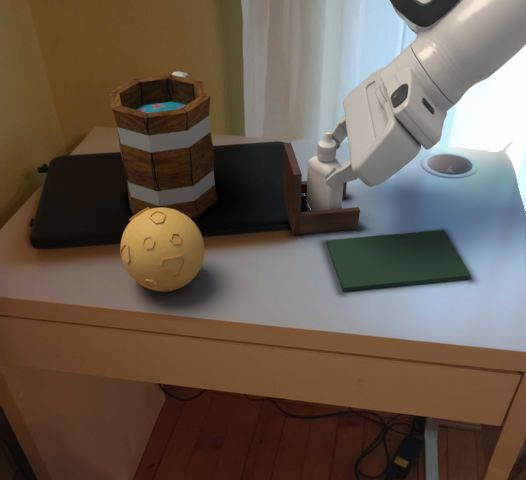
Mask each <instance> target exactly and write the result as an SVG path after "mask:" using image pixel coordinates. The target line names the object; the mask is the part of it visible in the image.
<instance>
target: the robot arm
mask: <svg viewBox="0 0 526 480" xmlns="http://www.w3.org/2000/svg"><path fill="white" fill-rule="evenodd" d="M389 2H390V4H391V6H392V7H393V10H394V12H395V13H396V14H397V16H398V17H399V18H400V19H401V20H402V21H403V22H404V23H405V24H406V26H407V27H408V28H409V29H410V30H411V31H412V33H414V34H415V35H416V37H415V39H414V40H413V41H411V43H410V44H409V45H408V46H407V47H405V48H404V49H403V50H402V51H401V52H400V53H399V54H397V56H395V58H393V59H392V60H391V61H390V62H389V63H388V64H387V65H386V66H384V67H381V68H379V69H376V70H375V71H374V72H372V73H371V74H370V75H369V76H368V77H366V78H365V79H364V80H362V81H361V82H360V83H359V84H357V86H355V87H354V88H352V89H351V90H350V92H348V94H347V95H346V96H345V98H344V99H343V101H342V106H343V112H344V113H343V114H344V115H343V116H342V117H341V118H340V119H339V120H338V122H337V123H336V125H335V126H334V127H333V129H332V130H331V132H330V134H331V140H334V141H335V142H336V151H337V150H338V149H339V148H341V144H342V142H344V140H345V139H347V144H348V150H349V158H348V160H346V161H345V162H344V165H343V166H341V168H339V169H336V168H334V169H333V170H331V171H330V173H328V174H327V175H326V184H327V185H328V186H329V187H330V188H331V189H333V190H336V189H337V188H339V187H340V186H341V185H342V184H343V183H346V182H347V183H348V182H352V181H354V180H357V179H359V180H360V181H361V182H362V183H363V184H364V185H366V186H367V187H369V188H371V187H376V186H379V185H381V184H382V183H384V182H385V181H387V180H389V179H390V178H392V177H393V176H395V174H396V173H398V172H399V171H400V170H402V169H403V168H405V167H406V166H407V165H408V164H409V163H411V162H412V161H413V160H414V159H415V158H416V157H417V156H418V155H419V154H420V151H421V149H422V147H423V149H425V150H426V151H427V150H430V149H432V148H433V147H435V146H436V145H437V144H438V143H439V142H440V141H441V139H442V134H443V130H444V129H443V128H444V124H445V122H446V118H447V117H448V111H450V110H451V109H452V108H453V107H454V106H456V105H457V104H458V103H459V102H460V101H461V99H462V98H463V97H464V96H465V94H466V93H467V92H468V91H469V90H470V89H472V87H474V86H476V85H477V84H479V83H481V82H483V81H486V80H487V79H489V78H490V77H491V76H492V75H494V74H495V73H496V72H498V71H499V70H500V69H501V68H502V67H503V66H504V65H506V64H507V63H508V62H509V61H510V60H511V59H512V58H513V57H514V56H516V55H517V54H518V53H519V52H520V51H521V50H522V49H523V48H524V47H525V46H526V0H389Z"/></svg>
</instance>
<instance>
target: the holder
mask: <svg viewBox="0 0 526 480" xmlns="http://www.w3.org/2000/svg"><path fill="white" fill-rule="evenodd" d="M282 168H283V169H282V170H283V172H282V173H283V176H282V177H283V181H282V183H283V186H282V188H283V192H282V193H284V196H283V195H282V198H283V199H282V200H283V205H284V208H285V212H286V215H287V218H288V222H289V226H290V229H291V233H292V235H293V236H296V235H306V234H318V233H328V232H340V231H351V230H358V229H359V226H360V217H361V216H360V215H361V209H360V207H359V206H356V207H355V206H354V207H344V208H342V209H331V210H320V211H308V210H307V211H302V203H306V197H307V180H303V179H302V178H303V174H302V171H301V168H300V165H299V162H298V160H297V156H296V153H295V150H294V148H293V144H292V142H289V141H288V142H283V167H282ZM347 185H348V182H346V183H343V196H342V200H345V199H346V197H347ZM301 193H305V195H306V196H302V197H301ZM284 197H285V199H284ZM285 200H286V203H287V206H286V203H285ZM287 207H288V210H289V213H290V217H291V220H290V217H289V213H288V210H287Z"/></svg>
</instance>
